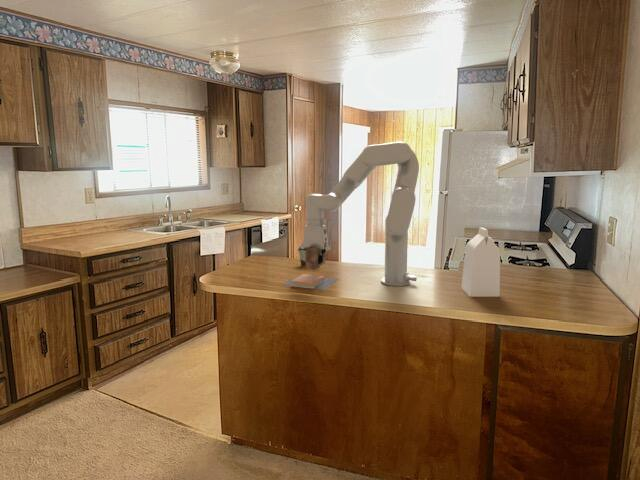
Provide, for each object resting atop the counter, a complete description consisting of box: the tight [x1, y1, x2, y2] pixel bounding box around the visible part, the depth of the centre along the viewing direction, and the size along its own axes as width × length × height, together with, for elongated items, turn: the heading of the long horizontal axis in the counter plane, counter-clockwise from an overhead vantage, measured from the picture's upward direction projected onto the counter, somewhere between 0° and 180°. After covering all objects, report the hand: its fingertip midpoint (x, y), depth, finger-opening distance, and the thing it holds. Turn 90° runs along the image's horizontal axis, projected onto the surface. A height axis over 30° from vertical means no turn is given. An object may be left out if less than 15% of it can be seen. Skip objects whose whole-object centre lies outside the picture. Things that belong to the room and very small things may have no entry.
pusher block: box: [305, 247, 326, 270], centre depth 200 cm, size 4×12×9 cm, turn 157°
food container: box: [297, 245, 306, 268], centre depth 230 cm, size 12×6×10 cm, turn 84°
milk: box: [461, 227, 501, 298], centre depth 180 cm, size 12×12×26 cm
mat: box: [282, 274, 340, 291], centre depth 198 cm, size 20×17×1 cm
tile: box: [291, 273, 325, 289], centre depth 195 cm, size 10×2×12 cm
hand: (315, 262), depth 201 cm, fingers closed on pusher block, 4 cm apart
